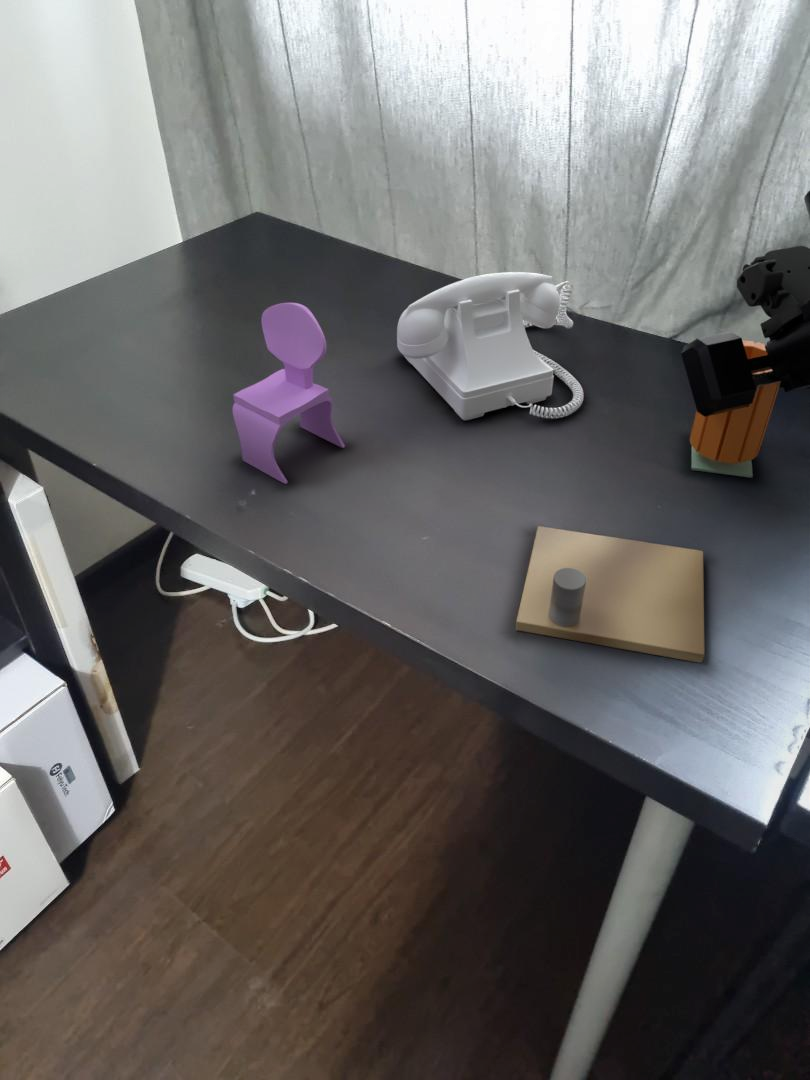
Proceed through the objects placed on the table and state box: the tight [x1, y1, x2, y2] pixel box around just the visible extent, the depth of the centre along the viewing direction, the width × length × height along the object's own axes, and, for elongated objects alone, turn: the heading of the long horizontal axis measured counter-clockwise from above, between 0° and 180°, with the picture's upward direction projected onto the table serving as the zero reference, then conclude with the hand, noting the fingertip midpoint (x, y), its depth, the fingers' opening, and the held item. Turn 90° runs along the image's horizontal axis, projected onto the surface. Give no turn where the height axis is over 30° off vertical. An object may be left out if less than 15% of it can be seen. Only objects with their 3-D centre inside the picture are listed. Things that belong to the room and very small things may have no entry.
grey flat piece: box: [690, 445, 754, 479], centre depth 82 cm, size 6×6×1 cm
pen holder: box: [689, 339, 781, 464], centre depth 77 cm, size 6×7×10 cm
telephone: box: [396, 271, 585, 421], centre depth 90 cm, size 25×21×12 cm
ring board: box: [515, 525, 706, 664], centre depth 66 cm, size 14×12×5 cm
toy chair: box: [232, 302, 346, 485], centre depth 78 cm, size 8×9×15 cm
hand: (729, 387), depth 78 cm, fingers closed on pen holder, 6 cm apart
